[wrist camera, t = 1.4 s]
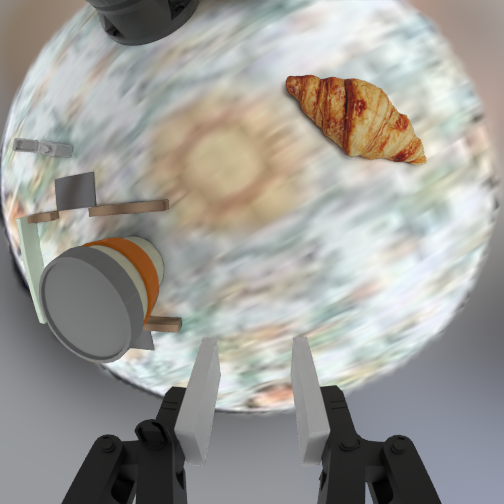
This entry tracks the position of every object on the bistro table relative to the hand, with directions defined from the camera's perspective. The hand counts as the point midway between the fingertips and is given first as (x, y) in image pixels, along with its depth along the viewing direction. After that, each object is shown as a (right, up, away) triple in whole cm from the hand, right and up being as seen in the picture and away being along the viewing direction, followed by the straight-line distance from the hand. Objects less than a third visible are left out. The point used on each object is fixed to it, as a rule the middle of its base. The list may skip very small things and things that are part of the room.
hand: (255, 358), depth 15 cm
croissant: (+14, +23, +17) cm, 32 cm away
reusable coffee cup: (-17, +4, +23) cm, 29 cm away
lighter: (-30, +22, +18) cm, 42 cm away
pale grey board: (-37, +3, +24) cm, 44 cm away
